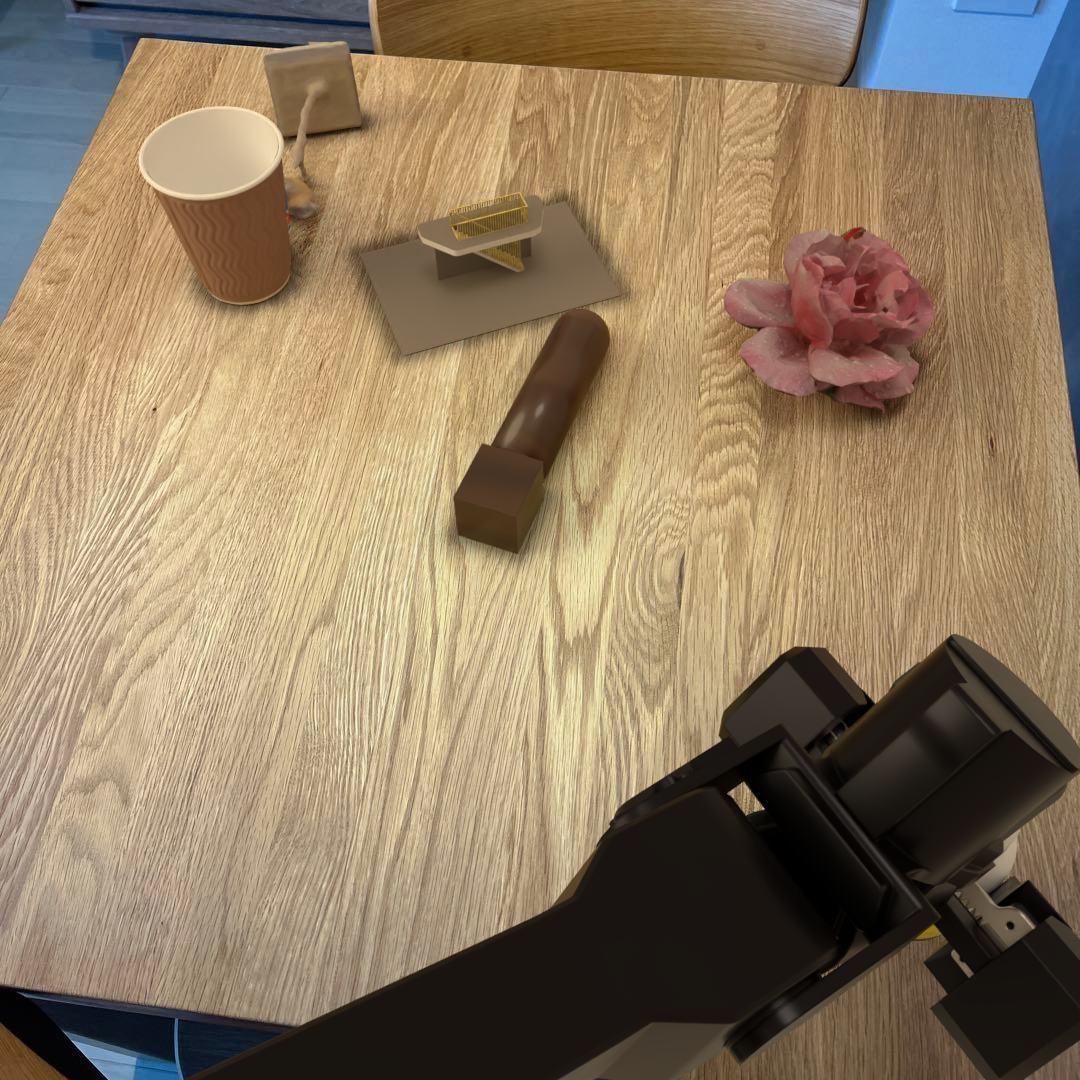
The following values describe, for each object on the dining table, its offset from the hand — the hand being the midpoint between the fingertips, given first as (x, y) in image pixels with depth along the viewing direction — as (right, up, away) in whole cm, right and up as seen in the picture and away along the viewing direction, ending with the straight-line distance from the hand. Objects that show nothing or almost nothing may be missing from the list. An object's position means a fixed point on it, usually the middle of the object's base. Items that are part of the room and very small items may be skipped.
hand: (959, 826), depth 55 cm
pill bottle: (-1, -4, +5) cm, 7 cm away
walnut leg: (-20, +21, +27) cm, 40 cm away
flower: (+1, +27, +31) cm, 41 cm away
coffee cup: (-44, +35, +36) cm, 67 cm away
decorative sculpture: (-42, +46, +44) cm, 76 cm away
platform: (-24, +35, +36) cm, 56 cm away
